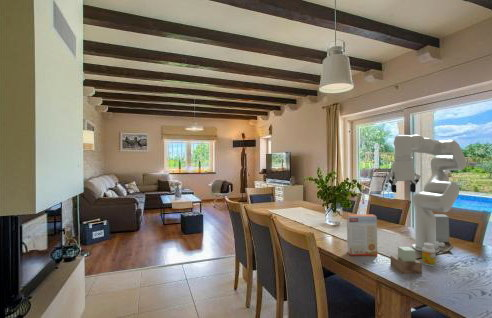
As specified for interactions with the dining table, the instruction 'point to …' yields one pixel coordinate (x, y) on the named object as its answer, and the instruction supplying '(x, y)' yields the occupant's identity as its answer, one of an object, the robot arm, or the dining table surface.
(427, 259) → the supplement bottle
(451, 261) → the dining table surface
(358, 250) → the cracker box
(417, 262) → the walnut block
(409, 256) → the sage cube
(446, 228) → the skincare box
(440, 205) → the robot arm
